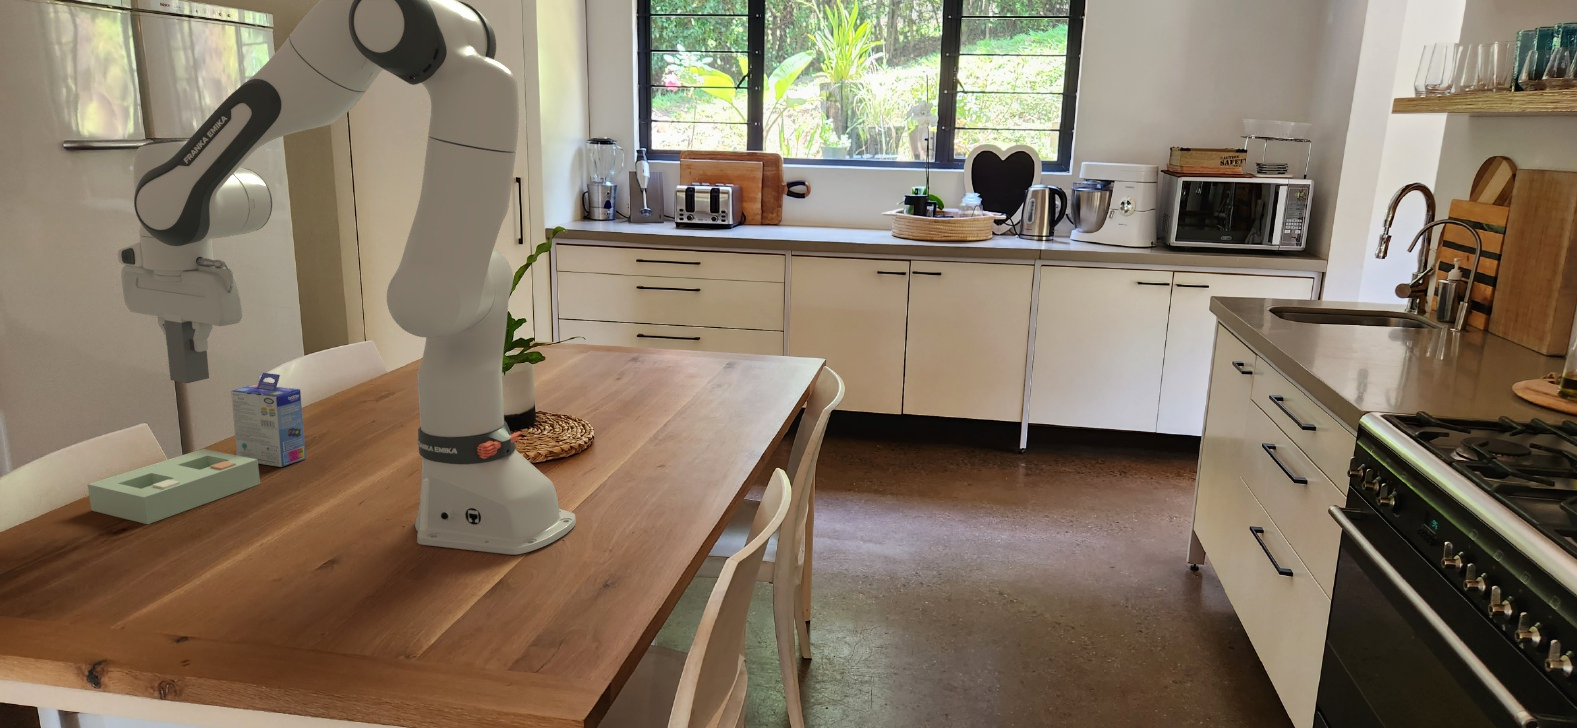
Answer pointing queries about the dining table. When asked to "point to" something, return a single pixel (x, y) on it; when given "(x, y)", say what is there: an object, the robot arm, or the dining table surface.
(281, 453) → the ink cartridge box
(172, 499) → the socket board
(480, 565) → the dining table surface
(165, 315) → the plug
